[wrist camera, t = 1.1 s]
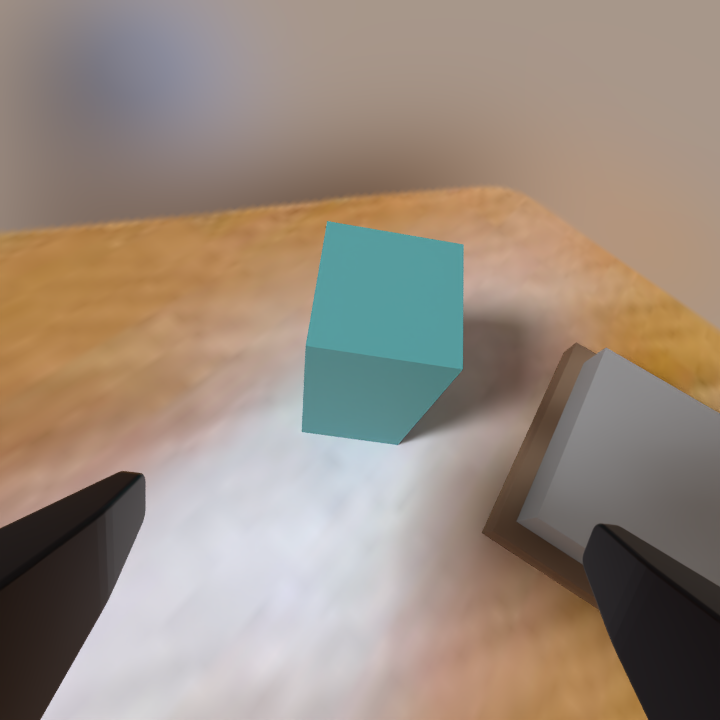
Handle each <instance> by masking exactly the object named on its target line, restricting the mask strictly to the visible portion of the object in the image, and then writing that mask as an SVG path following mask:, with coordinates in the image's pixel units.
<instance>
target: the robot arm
mask: <svg viewBox="0 0 720 720" xmlns="http://www.w3.org/2000/svg"><path fill="white" fill-rule="evenodd" d="M144 516H145V477H144V475H143V474H142V473H136V472H127V471H121V472H118V473H116V474H114V475H112V476H109V477H107V478H105V479H103V480H101V481H99V482H97V483H95V484H93V485H91V486H88V487H86V488H84V489H82V490H80V491H78V492H76V493H74V494H72V495H70V496H67V497H65V498H63V499H61V500H59V501H57V502H55V503H53V504H51V505H48V506H46V507H44V508H42V509H40V510H38V511H36V512H34V513H32V514H30V515H27V516H25V517H23V518H21V519H19V520H17V521H15V522H13V523H11V524H9V525H6V526H4V527H2V528H0V720H40V719H41V718H42V716H43V714H44V712H45V711H46V709H47V707H48V705H49V704H50V702H51V700H52V698H53V697H54V695H55V693H56V691H57V690H58V688H59V686H60V684H61V683H62V681H63V679H64V677H65V676H66V674H67V672H68V670H69V669H70V667H71V665H72V663H73V662H74V660H75V658H76V656H77V655H78V653H79V651H80V649H81V648H82V646H83V644H84V642H85V641H86V639H87V637H88V635H89V634H90V632H91V630H92V628H93V627H94V625H95V623H96V621H97V620H98V618H99V616H100V614H101V613H102V611H103V609H104V607H105V605H106V603H107V601H108V600H109V597H110V595H111V593H112V591H113V589H114V587H115V584H116V582H117V580H118V578H119V575H120V573H121V571H122V568H123V566H124V564H125V562H126V559H127V557H128V555H129V553H130V550H131V548H132V546H133V543H134V541H135V539H136V537H137V534H138V532H139V530H140V527H141V525H142V523H143V520H144ZM582 560H583V567H584V570H585V573H586V576H587V578H588V581H589V584H590V586H591V589H592V592H593V594H594V597H595V600H596V602H597V605H598V608H599V610H600V613H601V616H602V618H603V621H604V624H605V626H606V629H607V632H608V634H609V637H610V639H611V642H612V644H613V646H614V648H615V651H616V653H617V655H618V657H619V659H620V661H621V664H622V666H623V668H624V670H625V672H626V674H627V676H628V678H629V680H630V682H631V684H632V687H633V689H634V691H635V693H636V695H637V697H638V699H639V701H640V703H641V705H642V708H643V710H644V712H645V714H646V716H647V718H648V720H720V586H718V585H717V584H715V583H713V582H712V581H710V580H708V579H707V578H705V577H703V576H702V575H700V574H698V573H697V572H695V571H693V570H692V569H690V568H688V567H687V566H685V565H684V564H682V563H680V562H679V561H677V560H675V559H674V558H672V557H670V556H669V555H667V554H665V553H664V552H662V551H660V550H659V549H657V548H655V547H654V546H652V545H650V544H649V543H647V542H645V541H644V540H642V539H640V538H639V537H637V536H636V535H634V534H632V533H631V532H629V531H627V530H626V529H624V528H622V527H620V526H618V525H614V524H604V523H599V524H597V525H595V526H594V528H593V530H592V532H591V535H590V538H589V540H588V543H587V545H586V548H585V550H584V553H583V558H582Z"/></svg>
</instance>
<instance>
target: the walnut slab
mask: <svg viewBox="0 0 720 720" xmlns="http://www.w3.org/2000/svg"><path fill="white" fill-rule="evenodd" d="M595 355H596V354H595V353H593V352H592V351H590V350H588V349H587V348H585V347H583V346H581V345H580V344H578V343H575V344H574V345H573V346H572V347H570V348H569V349H568V350H566V351H565V352H564V353H563V356H562V358H561V360H560V362H559V364H558V367H557V369H556V371H555V373H554V375H553V378H552V380H551V382H550V384H549V386H548V389H547V391H546V393H545V395H544V397H543V399H542V402H541V404H540V406H539V408H538V410H537V413H536V415H535V417H534V419H533V421H532V424H531V426H530V428H529V430H528V432H527V435H526V437H525V439H524V441H523V443H522V446H521V448H520V450H519V452H518V454H517V457H516V459H515V461H514V463H513V465H512V468H511V470H510V472H509V474H508V476H507V479H506V481H505V483H504V485H503V487H502V490H501V492H500V494H499V496H498V498H497V501H496V503H495V505H494V507H493V509H492V512H491V514H490V516H489V518H488V520H487V522H486V525H485V527H484V529H483V531H482V533H483V534H484V535H486V536H487V537H489V538H490V539H492V540H494V541H495V542H497V543H498V544H500V545H501V546H503V547H504V548H506V549H507V550H509V551H510V552H512V553H513V554H515V555H516V556H518V557H519V558H521V559H523V560H524V561H526V562H527V563H529V564H530V565H532V566H533V567H535V568H536V569H538V570H539V571H541V572H542V573H544V574H545V575H547V576H548V577H550V578H551V579H553V580H555V581H556V582H558V583H559V584H561V585H562V586H564V587H565V588H567V589H568V590H570V591H571V592H573V593H574V594H576V595H577V596H579V597H580V598H582V599H583V600H585V601H587V602H588V603H590V604H591V605H593V606H594V607H596V608H597V609H599V608H598V605H597V602H596V600H595V597H594V594H593V592H592V589H591V586H590V584H589V581H588V578H587V576H586V573H585V570H584V567H583V564H581V563H580V562H578V561H577V560H575V559H573V558H572V557H570V556H569V555H567V554H566V553H564V552H563V551H561V550H560V549H558V548H556V547H555V546H553V545H552V544H550V543H549V542H547V541H546V540H544V539H543V538H541V537H539V536H538V535H536V534H535V533H533V532H532V531H530V530H529V529H527V528H526V527H524V526H523V525H521V524H519V523H518V522H516V521H517V519H518V516H519V514H520V512H521V509H522V507H523V505H524V502H525V500H526V497H527V495H528V493H529V490H530V488H531V486H532V483H533V481H534V479H535V476H536V474H537V472H538V469H539V467H540V465H541V462H542V460H543V458H544V455H545V453H546V450H547V448H548V446H549V443H550V441H551V439H552V436H553V434H554V432H555V429H556V427H557V425H558V422H559V420H560V418H561V415H562V413H563V411H564V408H565V406H566V403H567V401H568V399H569V396H570V394H571V392H572V389H573V387H574V385H575V382H576V380H577V378H578V375H579V373H580V371H581V368H582V366H583V364H584V363H585V362H586V361H587V360H589V359H590V358H592V357H593V356H595Z"/></svg>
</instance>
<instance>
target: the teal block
mask: <svg viewBox="0 0 720 720" xmlns="http://www.w3.org/2000/svg"><path fill="white" fill-rule="evenodd" d="M462 370H463V244H457V243H451V242H445V241H439V240H434V239H428V238H422V237H416V236H410V235H404V234H399V233H393V232H387V231H381V230H375V229H370V228H364V227H358V226H352V225H346V224H340V223H335V222H329V221H327V226H326V232H325V237H324V243H323V249H322V255H321V261H320V266H319V272H318V278H317V284H316V289H315V295H314V301H313V307H312V313H311V318H310V324H309V330H308V336H307V341H306V351H305V373H304V394H303V416H302V432H306V433H314V434H321V435H328V436H336V437H343V438H351V439H358V440H365V441H373V442H380V443H387V444H395V445H398V444H399V443H400V442H401V441H402V439H403V438H404V437H405V436H406V435H407V434H408V432H409V431H410V430H411V429H412V428H413V427H414V426H415V424H416V423H417V422H418V421H419V420H420V419H421V417H422V416H423V415H424V414H425V413H426V412H427V410H428V409H429V408H430V407H431V406H432V405H433V404H434V402H435V401H436V400H437V399H438V398H439V397H440V395H441V394H442V393H443V392H444V391H445V390H446V388H447V387H448V386H449V385H450V384H451V383H452V382H453V380H454V379H455V378H456V377H457V376H458V375H459V373H460V372H461V371H462Z"/></svg>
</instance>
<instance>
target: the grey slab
mask: <svg viewBox="0 0 720 720" xmlns="http://www.w3.org/2000/svg"><path fill="white" fill-rule="evenodd" d="M516 522H518V523H519V524H521V525H523V526H524V527H526V528H527V529H529V530H530V531H532V532H533V533H535V534H536V535H538V536H539V537H541V538H543V539H544V540H546V541H547V542H549V543H550V544H552V545H553V546H555V547H556V548H558V549H560V550H561V551H563V552H564V553H566V554H567V555H569V556H570V557H572V558H573V559H575V560H577V561H578V562H580V563H581V564H583V560H582V558H583V553H584V550H585V548H586V545H587V543H588V540H589V538H590V535H591V532H592V530H593V528H594V526H595V525H597V524H599V523H604V524H614V525H618V526H620V527H622V528H624V529H626V530H627V531H629V532H631V533H632V534H634V535H636V536H637V537H639V538H640V539H642V540H644V541H645V542H647V543H649V544H650V545H652V546H654V547H655V548H657V549H659V550H660V551H662V552H664V553H665V554H667V555H669V556H670V557H672V558H674V559H675V560H677V561H679V562H680V563H682V564H684V565H685V566H687V567H688V568H690V569H692V570H693V571H695V572H697V573H698V574H700V575H702V576H703V577H705V578H707V579H708V580H710V581H712V582H713V583H715V584H717V585H718V586H720V413H718V412H716V411H714V410H713V409H711V408H709V407H708V406H706V405H704V404H702V403H701V402H699V401H697V400H695V399H694V398H692V397H690V396H689V395H687V394H685V393H683V392H682V391H680V390H678V389H677V388H675V387H673V386H671V385H670V384H668V383H666V382H664V381H663V380H661V379H659V378H658V377H656V376H654V375H652V374H651V373H649V372H647V371H646V370H644V369H642V368H640V367H639V366H637V365H635V364H633V363H632V362H630V361H628V360H627V359H625V358H623V357H621V356H620V355H618V354H616V353H614V352H613V351H611V350H609V349H608V348H605V349H603V350H602V351H600V352H599V353H597V354H596V355H595V356H593V357H592V358H590V359H589V360H587V361H586V362H585V363H584V364H583V366H582V368H581V371H580V373H579V375H578V378H577V380H576V382H575V385H574V387H573V389H572V392H571V394H570V396H569V399H568V401H567V403H566V406H565V408H564V411H563V413H562V415H561V418H560V420H559V422H558V425H557V427H556V429H555V432H554V434H553V436H552V439H551V441H550V443H549V446H548V448H547V450H546V453H545V455H544V458H543V460H542V462H541V465H540V467H539V469H538V472H537V474H536V476H535V479H534V481H533V483H532V486H531V488H530V490H529V493H528V495H527V497H526V500H525V502H524V505H523V507H522V509H521V512H520V514H519V516H518V519H517V521H516Z"/></svg>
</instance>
